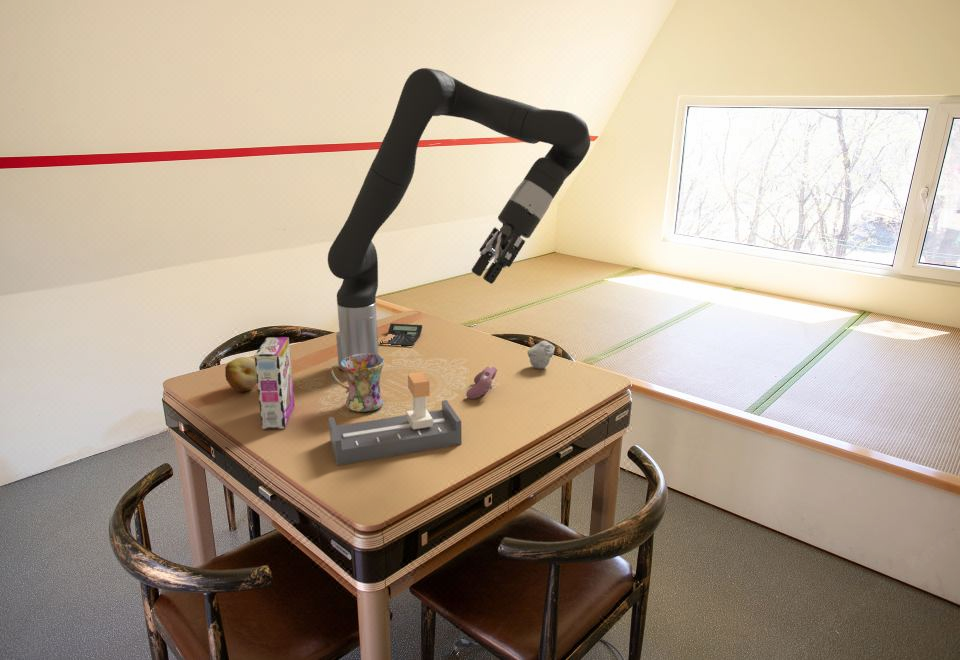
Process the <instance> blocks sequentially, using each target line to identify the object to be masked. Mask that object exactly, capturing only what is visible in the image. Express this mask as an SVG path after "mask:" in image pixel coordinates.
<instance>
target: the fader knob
mask: <svg viewBox="0 0 960 660" xmlns="http://www.w3.org/2000/svg"><path fill="white" fill-rule="evenodd" d="M407 389H408V390H409V391H410V393H411V395H412V409H411V410H406V415H407V419H408V421H409V423H410V425H411V427H412V429H419V428H426V427H432V426H433V418H432V417H431V415H430V414H429V410H428V409H427V408H426V397H430V396H431V395H430V391H431V390H430V381H429V379H428V378H427V376H426V374H425V373H424V372H423V371H418V372H411V373H407Z"/></svg>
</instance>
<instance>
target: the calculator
mask: <svg viewBox="0 0 960 660" xmlns="http://www.w3.org/2000/svg"><path fill="white" fill-rule="evenodd" d="M422 330H423V324H411V323H410V324H408V323H391V322H390V325H389V328H388V331H387V334H392V335H395V336H394V337H393V339H392V338H391V340H388V341H384V342H383V341H382V340H381V341H382V343H381V341H380V342H379V343H380V344H391V345H401V346H413V347H414V346H415V344H416V343H417V342H418V340H419V339H420V338H421V333H422ZM387 334H386V335H387ZM419 337H420V338H419ZM418 338H419V339H418ZM417 339H418V340H417ZM416 341H417V342H416ZM415 342H416V343H415ZM414 343H415V344H414Z"/></svg>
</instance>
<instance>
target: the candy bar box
mask: <svg viewBox="0 0 960 660" xmlns="http://www.w3.org/2000/svg"><path fill="white" fill-rule="evenodd" d="M262 342H263V343H262V344H261V345H260V347H259V348H258V350H257V351H256V352H255V353H254V360H255V366H256V375H257V384H256V385H257V391H258V401H259V402H258V403H259V409H260V410H259V411H260V421H261V429H262V430H284V429H285V430H286V427H287V425H288V422H289V420H290V418H291V416H292V412H293V411H294V409H295V406H296V405H295V395H294V384H293V373H292V372H293V371H292V362H291V361H292V360H291V350H290V349H291V348H290V338H289V337H286V336H282V337H281V336H280V337H279V336H276V337H275V336H274V337H266V338H265V339H264V341H262Z"/></svg>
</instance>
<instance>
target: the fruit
mask: <svg viewBox="0 0 960 660" xmlns="http://www.w3.org/2000/svg"><path fill="white" fill-rule="evenodd" d="M224 370H225V373H224V374H225V375H224V376H225V380H226V382H228V385H229V386H230V387H231V389H233V390H234V391H237V392H241V391H242V392H248V391H249V390H252V389H253V388H254V387H256V385H257V375H256V366H255V358H254V359H253V358H252V357H249V356H241V357H236V358H235V359H233V360H231V361H229V362H228V363H227V364H226V366H225V369H224Z"/></svg>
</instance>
